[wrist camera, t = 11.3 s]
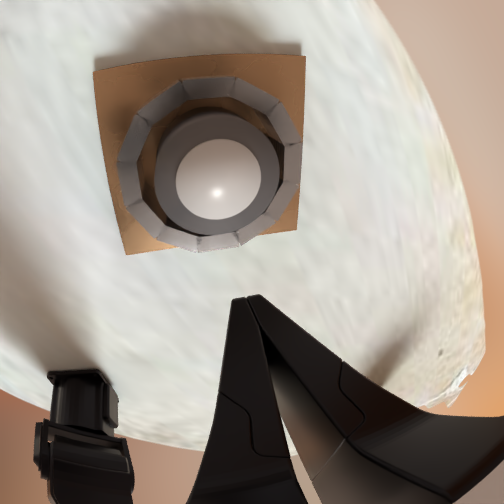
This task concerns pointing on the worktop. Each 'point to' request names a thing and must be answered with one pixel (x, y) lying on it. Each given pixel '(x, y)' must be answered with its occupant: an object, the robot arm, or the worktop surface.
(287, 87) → the ring mount
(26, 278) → the worktop surface
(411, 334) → the worktop surface
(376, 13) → the worktop surface
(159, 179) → the gray tapered cylinder
